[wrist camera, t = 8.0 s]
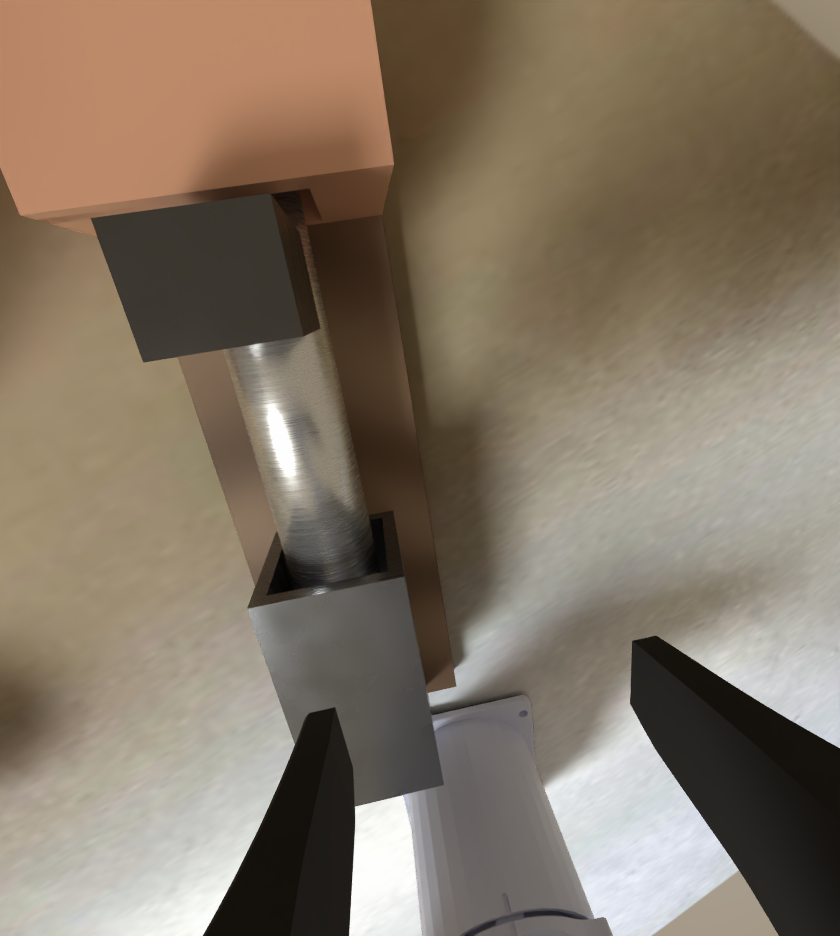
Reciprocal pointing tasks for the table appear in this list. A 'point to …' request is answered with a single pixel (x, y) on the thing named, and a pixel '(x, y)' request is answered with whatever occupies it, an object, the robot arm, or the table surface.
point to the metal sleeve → (353, 665)
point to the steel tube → (255, 356)
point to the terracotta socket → (191, 106)
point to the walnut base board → (369, 416)
